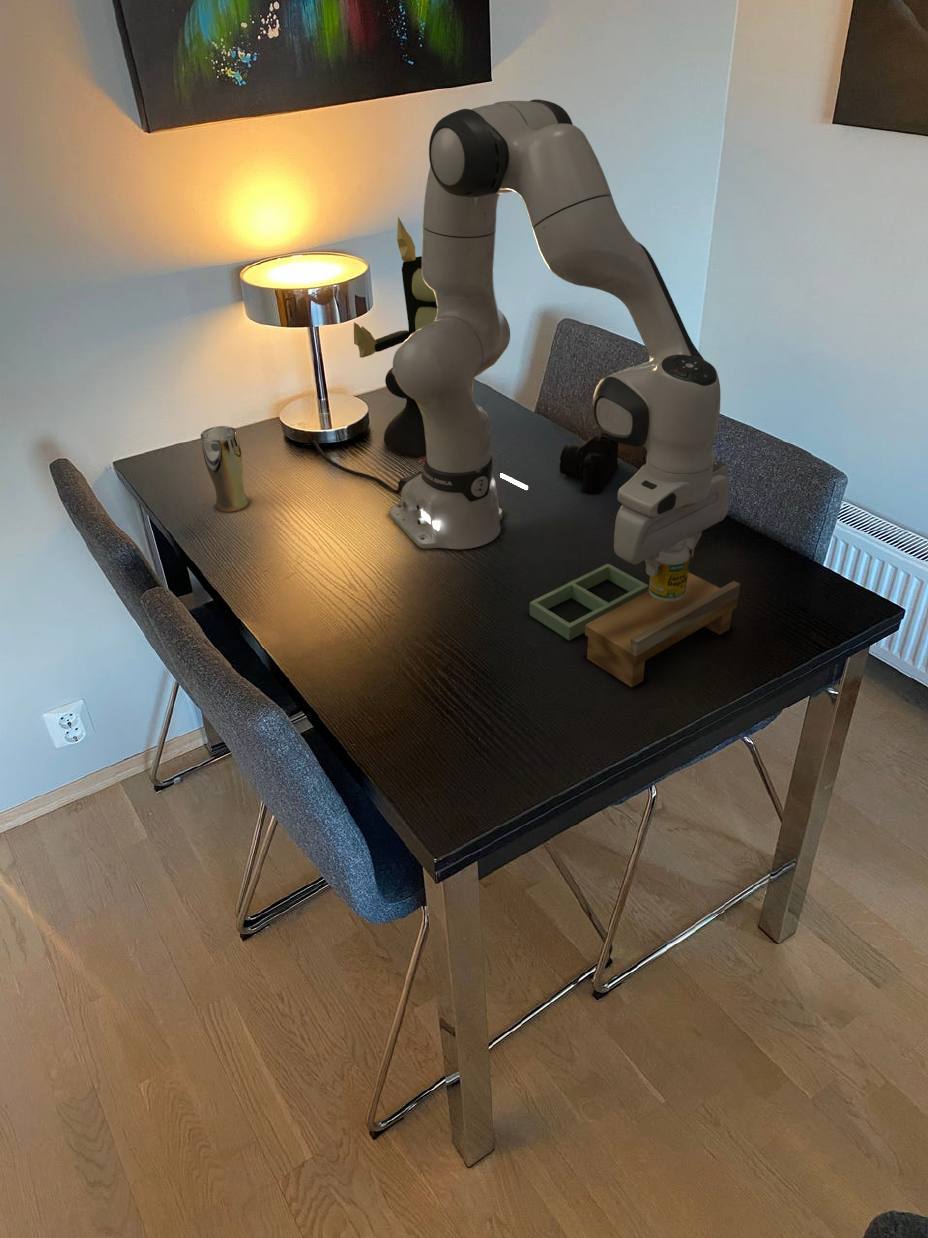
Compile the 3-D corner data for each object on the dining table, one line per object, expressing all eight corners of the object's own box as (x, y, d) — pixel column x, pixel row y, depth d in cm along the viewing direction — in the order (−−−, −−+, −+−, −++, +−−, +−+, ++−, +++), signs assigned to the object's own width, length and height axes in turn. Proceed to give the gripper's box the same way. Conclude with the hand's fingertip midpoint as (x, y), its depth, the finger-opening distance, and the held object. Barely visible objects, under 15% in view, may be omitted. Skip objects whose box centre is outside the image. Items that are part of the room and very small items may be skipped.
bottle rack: (529, 615, 150) (529, 602, 148) (607, 575, 158) (608, 563, 157) (569, 640, 144) (569, 627, 142) (647, 598, 152) (648, 585, 151)
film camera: (577, 457, 196) (578, 416, 190) (622, 464, 192) (624, 423, 187) (551, 489, 184) (552, 446, 179) (598, 497, 181) (601, 454, 176)
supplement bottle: (667, 578, 141) (673, 522, 136) (693, 594, 138) (700, 537, 132) (640, 590, 139) (645, 533, 133) (666, 607, 135) (672, 549, 130)
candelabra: (363, 453, 201) (338, 230, 175) (408, 413, 218) (392, 205, 192) (443, 465, 195) (430, 236, 169) (484, 424, 211) (478, 209, 185)
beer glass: (207, 510, 183) (191, 438, 174) (227, 494, 188) (213, 423, 179) (238, 515, 180) (223, 442, 172) (257, 499, 186) (244, 427, 177)
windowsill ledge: (583, 657, 140) (585, 611, 135) (682, 602, 151) (687, 557, 146) (633, 690, 134) (637, 642, 129) (733, 629, 144) (740, 583, 140)
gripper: (709, 449, 135) (699, 533, 143) (608, 494, 125) (603, 582, 133) (745, 463, 131) (733, 549, 139) (644, 511, 121) (637, 601, 129)
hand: (669, 565), depth 136 cm, fingers closed on supplement bottle, 5 cm apart
